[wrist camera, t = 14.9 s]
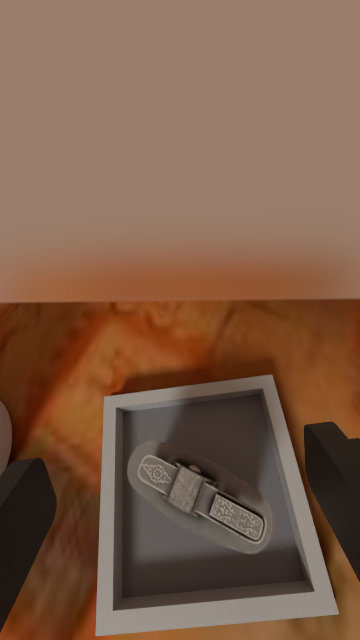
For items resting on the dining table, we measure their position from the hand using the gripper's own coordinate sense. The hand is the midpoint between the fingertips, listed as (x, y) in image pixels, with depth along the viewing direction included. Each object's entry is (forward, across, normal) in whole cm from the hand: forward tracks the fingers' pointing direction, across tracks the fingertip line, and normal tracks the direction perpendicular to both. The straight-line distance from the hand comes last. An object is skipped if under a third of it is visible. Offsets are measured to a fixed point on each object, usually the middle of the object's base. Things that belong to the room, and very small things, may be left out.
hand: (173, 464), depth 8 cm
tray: (+10, 0, +12) cm, 16 cm away
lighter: (+10, 0, +12) cm, 15 cm away
